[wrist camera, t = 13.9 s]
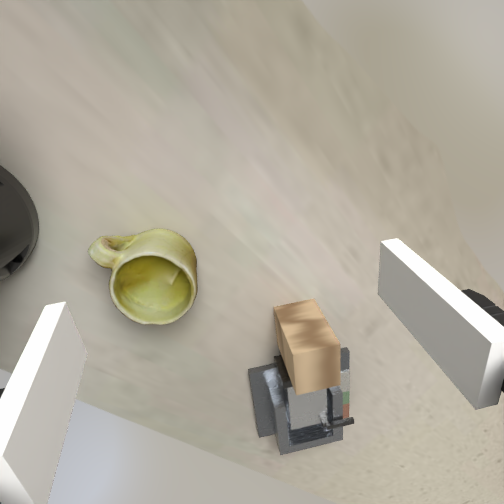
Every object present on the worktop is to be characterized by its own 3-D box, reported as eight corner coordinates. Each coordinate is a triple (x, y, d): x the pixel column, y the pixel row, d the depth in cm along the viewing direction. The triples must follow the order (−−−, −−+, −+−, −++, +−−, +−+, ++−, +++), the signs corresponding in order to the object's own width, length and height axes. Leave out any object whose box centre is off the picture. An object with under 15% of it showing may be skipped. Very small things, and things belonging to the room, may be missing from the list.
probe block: (277, 344, 59) (296, 395, 50) (273, 306, 56) (292, 355, 47) (315, 335, 60) (340, 385, 51) (313, 298, 56) (340, 344, 48)
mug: (228, 262, 49) (205, 312, 40) (171, 296, 53) (140, 347, 45) (163, 184, 45) (122, 220, 37) (108, 227, 50) (60, 268, 41)
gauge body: (258, 432, 67) (264, 459, 63) (248, 369, 60) (254, 394, 56) (346, 411, 69) (358, 435, 65) (346, 347, 62) (360, 370, 57)
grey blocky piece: (280, 415, 64) (288, 443, 60) (274, 356, 58) (282, 382, 54) (342, 401, 66) (355, 427, 61) (342, 341, 59) (357, 365, 55)
